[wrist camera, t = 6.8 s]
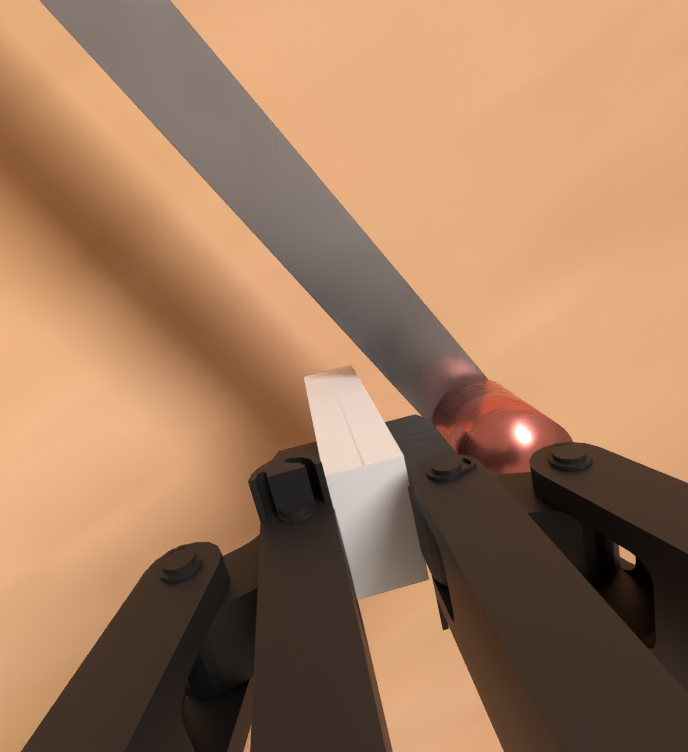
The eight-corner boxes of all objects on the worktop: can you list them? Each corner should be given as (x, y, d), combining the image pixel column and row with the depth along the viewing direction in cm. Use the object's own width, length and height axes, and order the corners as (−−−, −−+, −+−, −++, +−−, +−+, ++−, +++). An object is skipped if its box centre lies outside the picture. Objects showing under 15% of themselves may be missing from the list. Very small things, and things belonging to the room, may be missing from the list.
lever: (423, 470, 16) (481, 563, 12) (-482, -471, 9) (-1262, -1195, 4) (528, 379, 16) (630, 438, 12) (-327, -684, 9) (-1005, -1716, 4)
